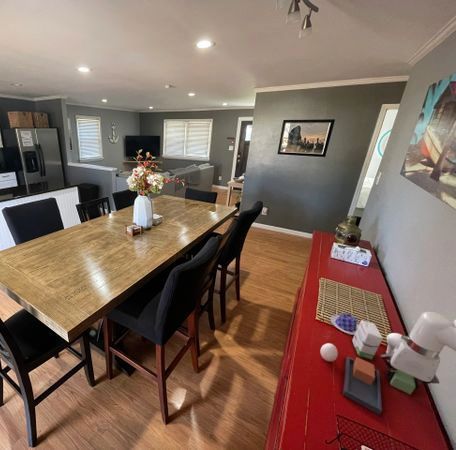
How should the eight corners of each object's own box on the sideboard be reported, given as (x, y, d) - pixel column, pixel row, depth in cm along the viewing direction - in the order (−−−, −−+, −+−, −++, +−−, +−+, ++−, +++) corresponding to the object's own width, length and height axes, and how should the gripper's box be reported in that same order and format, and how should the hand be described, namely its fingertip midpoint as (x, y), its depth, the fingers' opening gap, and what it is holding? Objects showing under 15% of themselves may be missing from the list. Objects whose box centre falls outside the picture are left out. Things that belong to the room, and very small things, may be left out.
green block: (408, 380, 88) (412, 373, 86) (410, 394, 83) (415, 387, 82) (389, 372, 91) (393, 364, 89) (390, 385, 86) (395, 377, 85)
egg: (317, 351, 99) (322, 337, 96) (332, 356, 97) (338, 342, 94) (319, 362, 94) (325, 348, 91) (335, 367, 92) (342, 353, 89)
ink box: (372, 360, 95) (384, 338, 91) (357, 355, 97) (368, 334, 92) (365, 344, 103) (375, 323, 98) (351, 340, 104) (360, 319, 100)
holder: (377, 374, 90) (379, 371, 89) (379, 414, 77) (382, 410, 76) (345, 359, 95) (347, 356, 94) (343, 394, 82) (345, 390, 82)
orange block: (370, 372, 90) (374, 365, 88) (370, 385, 85) (374, 377, 84) (353, 364, 93) (356, 356, 91) (352, 376, 88) (356, 368, 87)
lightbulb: (375, 351, 99) (386, 331, 95) (385, 347, 101) (396, 328, 97) (393, 364, 94) (404, 343, 90) (403, 360, 96) (415, 340, 92)
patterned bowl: (341, 314, 119) (344, 305, 117) (367, 332, 109) (372, 323, 107) (324, 319, 115) (327, 311, 113) (350, 339, 105) (354, 330, 103)
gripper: (389, 339, 82) (369, 375, 89) (464, 369, 72) (435, 407, 79) (387, 326, 88) (369, 361, 95) (457, 353, 78) (431, 389, 85)
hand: (399, 382), depth 87 cm, fingers closed on green block, 5 cm apart
